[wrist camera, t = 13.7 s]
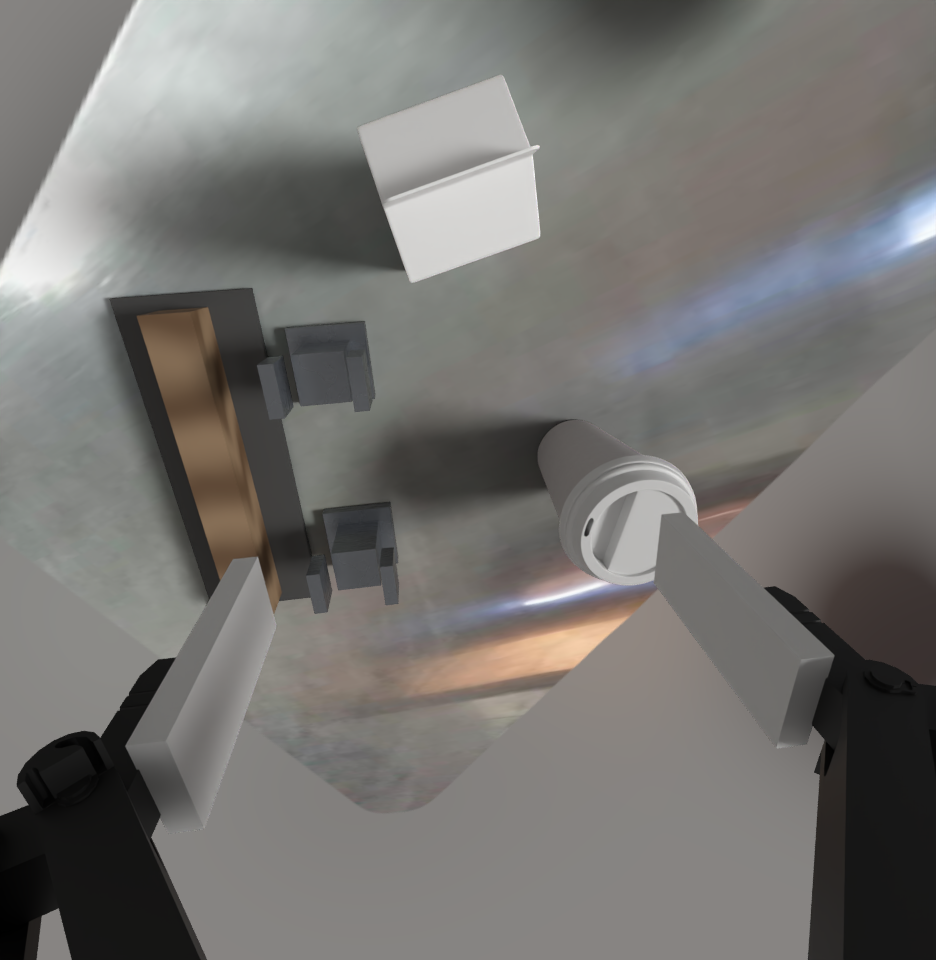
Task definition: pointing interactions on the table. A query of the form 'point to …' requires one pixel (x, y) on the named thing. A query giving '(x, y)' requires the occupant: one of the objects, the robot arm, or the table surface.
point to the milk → (454, 178)
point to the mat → (259, 433)
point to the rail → (209, 437)
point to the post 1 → (320, 368)
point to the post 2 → (356, 553)
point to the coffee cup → (610, 500)
